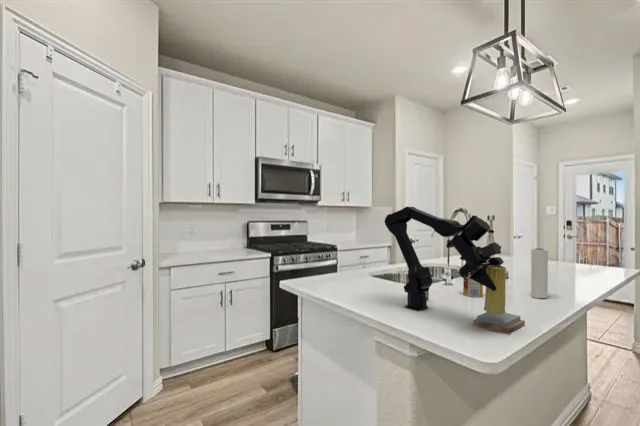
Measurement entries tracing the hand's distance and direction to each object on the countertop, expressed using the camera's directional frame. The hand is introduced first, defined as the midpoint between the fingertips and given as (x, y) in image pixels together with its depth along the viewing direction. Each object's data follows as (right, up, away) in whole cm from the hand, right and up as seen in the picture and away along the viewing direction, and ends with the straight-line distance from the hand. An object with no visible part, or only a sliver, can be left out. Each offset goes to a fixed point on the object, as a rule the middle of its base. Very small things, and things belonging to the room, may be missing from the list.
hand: (500, 288), depth 106 cm
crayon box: (-14, -13, +39) cm, 43 cm away
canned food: (+12, -13, +46) cm, 49 cm away
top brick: (+3, -12, +6) cm, 13 cm away
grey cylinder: (+40, -14, +43) cm, 61 cm away
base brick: (+3, -13, +6) cm, 15 cm away
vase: (-1, -8, +1) cm, 8 cm away
